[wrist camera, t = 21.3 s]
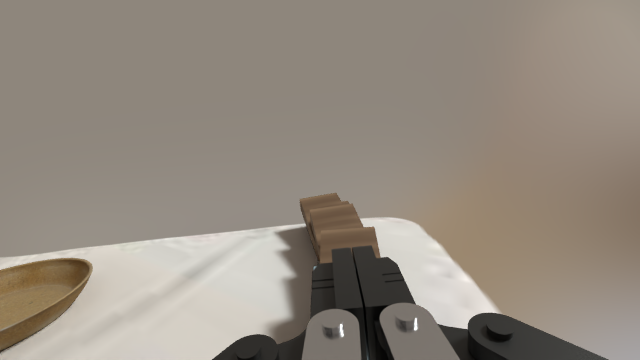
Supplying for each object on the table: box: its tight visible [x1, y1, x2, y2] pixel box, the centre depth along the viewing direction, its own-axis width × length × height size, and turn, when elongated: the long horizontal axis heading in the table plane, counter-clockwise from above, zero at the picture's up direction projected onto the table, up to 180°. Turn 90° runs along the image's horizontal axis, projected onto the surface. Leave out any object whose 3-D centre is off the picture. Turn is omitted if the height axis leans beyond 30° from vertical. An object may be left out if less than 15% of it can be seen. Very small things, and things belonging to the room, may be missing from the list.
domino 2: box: [310, 204, 364, 259], centre depth 31 cm, size 2×5×10 cm
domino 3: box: [320, 227, 381, 263], centre depth 25 cm, size 2×5×10 cm
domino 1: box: [300, 193, 343, 260], centre depth 37 cm, size 2×5×10 cm
